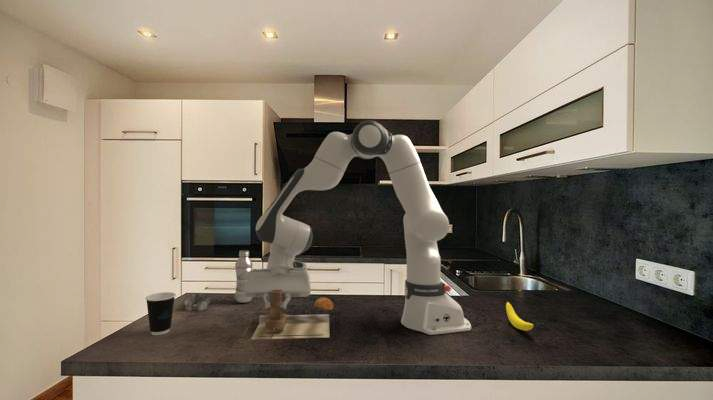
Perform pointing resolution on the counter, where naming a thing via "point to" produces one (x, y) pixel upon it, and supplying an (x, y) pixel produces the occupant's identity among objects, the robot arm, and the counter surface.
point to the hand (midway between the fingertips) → (275, 308)
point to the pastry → (323, 303)
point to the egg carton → (197, 302)
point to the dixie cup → (160, 312)
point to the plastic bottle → (242, 276)
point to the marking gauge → (275, 313)
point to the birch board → (296, 327)
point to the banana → (517, 319)
